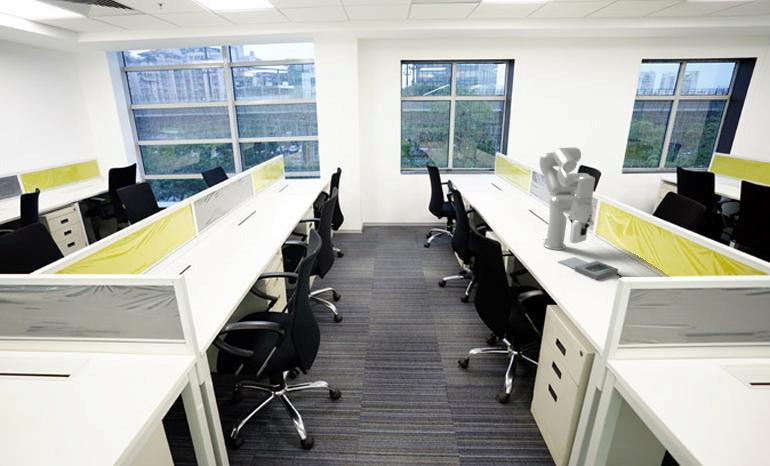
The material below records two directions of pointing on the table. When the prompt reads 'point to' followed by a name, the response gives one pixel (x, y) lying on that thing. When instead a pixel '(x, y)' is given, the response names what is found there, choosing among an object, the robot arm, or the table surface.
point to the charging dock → (596, 275)
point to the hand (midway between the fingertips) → (578, 233)
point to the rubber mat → (572, 262)
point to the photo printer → (577, 232)
